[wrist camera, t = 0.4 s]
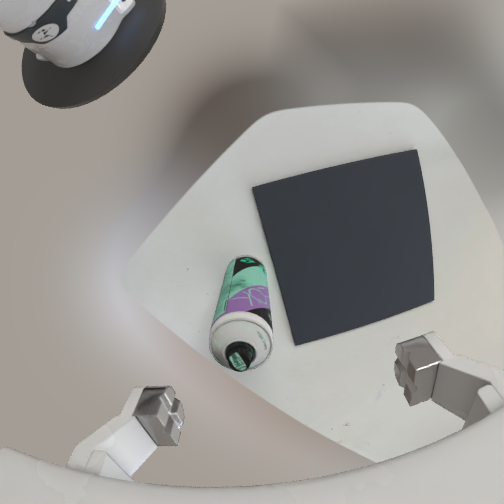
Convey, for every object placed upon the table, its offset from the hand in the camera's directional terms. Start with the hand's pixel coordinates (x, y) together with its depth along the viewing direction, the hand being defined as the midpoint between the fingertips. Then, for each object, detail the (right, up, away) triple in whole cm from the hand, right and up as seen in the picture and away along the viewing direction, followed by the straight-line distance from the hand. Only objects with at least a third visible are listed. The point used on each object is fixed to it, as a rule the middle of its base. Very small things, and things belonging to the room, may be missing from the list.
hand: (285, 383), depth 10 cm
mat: (+14, +5, +30) cm, 33 cm away
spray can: (-2, +2, +31) cm, 31 cm away
